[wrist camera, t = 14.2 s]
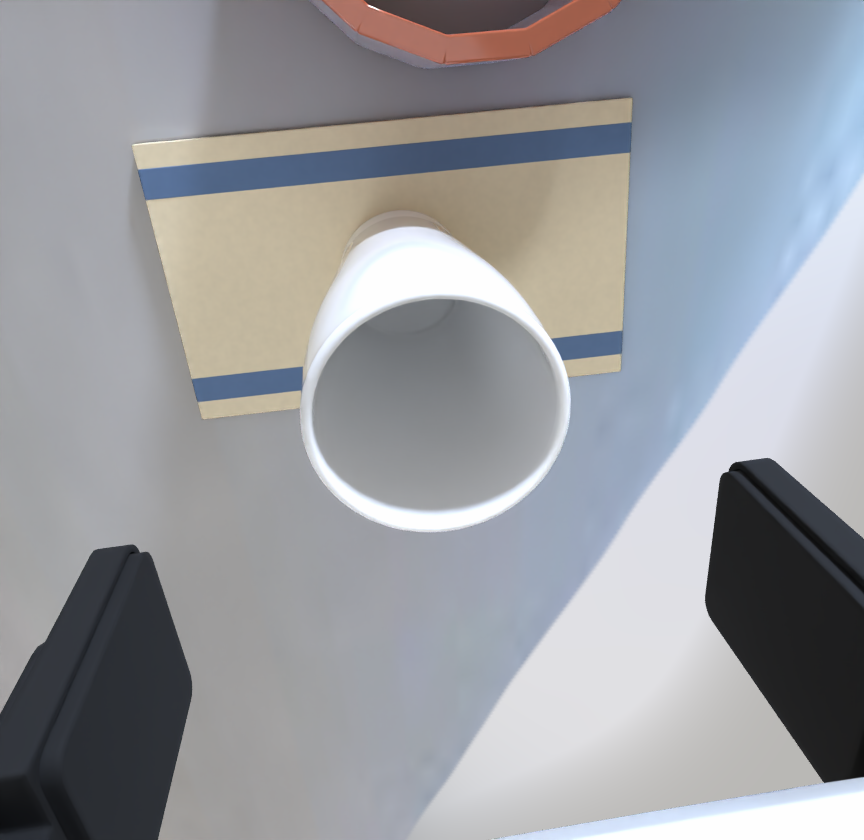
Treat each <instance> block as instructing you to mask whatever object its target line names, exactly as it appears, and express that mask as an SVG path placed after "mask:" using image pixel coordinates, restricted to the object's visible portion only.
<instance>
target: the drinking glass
mask: <svg viewBox="0 0 864 840" xmlns="http://www.w3.org/2000/svg"><path fill="white" fill-rule="evenodd" d="M570 409H571V397H570V387H569V381H568V376H567V373H566V369H565V366H564V363H563V361H562V359H561V356H560V354H559V352H558V350H557V348H556V347H555V345H554V343H553V342H552V340H551V339H550V337H549V335H548V333H547V331H546V330H545V328H544V326H543V325H542V323H541V321H540V320H539V318H538V317H537V315H536V314H535V312H534V311H533V310H532V308H531V307H530V305H529V304H528V303H527V301H526V300H525V299H524V297H523V296H522V295H521V294H520V293H519V292H518V290H517V289H516V288H515V287H514V286H513V285H512V284H511V283H510V281H509V280H508V279H507V278H505V277H504V276H503V275H502V274H501V273H500V272H499V271H498V270H497V269H496V268H495V267H493V266H492V265H491V264H489V263H488V262H487V261H486V260H484V259H483V258H482V257H480V256H479V255H477V254H476V253H475V252H473V251H472V250H471V249H469V248H468V247H466V246H465V245H464V244H462V243H461V242H460V241H458V240H457V239H456V238H455V237H454V236H453V235H452V234H451V232H450V231H449V230H448V229H447V228H446V227H445V226H444V225H443V224H441V223H440V222H439V221H437V220H436V219H434V218H432V217H430V216H428V215H426V214H423V213H420V212H416V211H411V210H394V211H388V212H385V213H381V214H379V215H376V216H374V217H372V218H371V219H369V220H367V221H366V222H365V223H363V224H362V225H361V226H360V227H359V228H358V229H357V230H356V231H355V232H354V233H353V234H352V236H351V237H350V239H349V240H348V242H347V244H346V246H345V248H344V251H343V253H342V257H341V261H340V266H339V268H338V270H337V272H336V274H335V276H334V278H333V280H332V282H331V284H330V286H329V288H328V290H327V292H326V294H325V296H324V298H323V300H322V302H321V305H320V307H319V309H318V312H317V314H316V317H315V319H314V322H313V325H312V328H311V332H310V335H309V339H308V343H307V347H306V353H305V358H304V364H303V372H302V384H301V400H300V427H301V434H302V439H303V443H304V447H305V450H306V452H307V455H308V458H309V460H310V462H311V464H312V466H313V468H314V470H315V472H316V473H317V475H318V476H319V478H320V479H321V481H322V482H323V483H324V485H325V486H326V487H327V488H328V489H329V491H330V492H331V493H332V494H333V495H334V496H335V497H336V498H337V499H339V500H340V501H341V502H342V503H343V504H345V505H346V506H347V507H349V508H350V509H352V510H353V511H355V512H356V513H358V514H360V515H361V516H363V517H365V518H367V519H369V520H372V521H374V522H376V523H379V524H382V525H385V526H388V527H391V528H395V529H400V530H405V531H412V532H445V531H453V530H458V529H463V528H467V527H471V526H474V525H477V524H480V523H483V522H485V521H487V520H490V519H492V518H494V517H496V516H498V515H500V514H502V513H504V512H505V511H507V510H509V509H510V508H512V507H513V506H515V505H516V504H517V503H519V502H520V501H521V500H522V499H524V498H525V497H526V496H527V495H528V494H529V493H530V492H532V491H533V490H534V489H535V488H536V487H537V485H538V484H539V483H540V482H541V481H542V480H543V478H544V477H545V476H546V474H547V473H548V472H549V470H550V469H551V467H552V466H553V464H554V462H555V461H556V459H557V457H558V455H559V453H560V451H561V448H562V446H563V443H564V440H565V437H566V434H567V430H568V426H569V419H570Z"/></svg>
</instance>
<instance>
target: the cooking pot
mask: <svg viewBox="0 0 864 840" xmlns="http://www.w3.org/2000/svg"><path fill="white" fill-rule="evenodd" d="M309 1H310V2H311V3H312V4H313V5H314V6H315V7H316V8H317V9H318V10H319V11H321V12H322V13H323V14H324V15H325V16H326V17H327V18H328V19H329V20H330V21H331V22H332V23H334V24H335V25H336V26H337V27H338V28H339V29H340V30H341V31H342V32H343V33H344V34H345V35H346V36H348V37H349V38H350V39H351V40H352V41H353V42H354V43H355V44H357V45H358V46H361V47H364V48H366V49H369V50H372V51H375V52H378V53H380V54H383V55H386V56H389V57H391V58H394V59H397V60H400V61H402V62H405V63H408V64H411V65H413V66H416V67H419V68H422V69H423V68H425V69H432V68H443V67H454V66H465V65H476V64H487V63H495V62H502V61H508V60H515V59H522V58H528V57H530V56H535V55H536V54H538V53H540V52H542V51H543V50H545V49H547V48H549V47H550V46H552V45H554V44H556V43H558V42H559V41H561V40H563V39H565V38H566V37H568V36H570V35H572V34H573V33H575V32H577V31H579V30H580V29H582V28H584V27H586V26H587V25H589V24H591V23H593V22H594V21H596V20H598V19H600V18H601V17H603V16H605V15H607V14H609V13H610V12H611V11H612V10H613V9H615V8H616V7H617V5H618V4H619V3H620V2H621V1H622V0H549V1H548V2H547V3H546V5H545V6H544V7H543V8H542V9H540V10H539V11H537V12H535V13H534V14H532V15H530V16H528V17H527V18H525V19H523V20H521V21H520V22H518V23H516V24H514V25H513V26H511V27H509V28H508V29H505V30H493V31H482V32H471V33H459V34H448V35H447V34H444V33H441V32H439V31H436V30H434V29H431V28H428V27H426V26H423V25H420V24H418V23H415V22H412V21H410V20H407V19H404V18H402V17H399V16H396V15H394V14H391V13H389V12H386V11H383V10H381V9H378V8H375V7H373V6H370V5H368V4H367V3H366V2H365V1H364V0H309Z"/></svg>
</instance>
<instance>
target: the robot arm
mask: <svg viewBox="0 0 864 840" xmlns="http://www.w3.org/2000/svg"><path fill="white" fill-rule="evenodd" d="M705 603H706V608H707V611H708V614H709V616H710V618H711V620H712V621H713V623H714V624H715V626H716V627H717V629H718V630H719V632H720V633H721V634H722V636H723V637H724V639H725V640H726V642H727V643H728V645H729V646H730V648H731V649H732V650H733V652H734V653H735V655H736V656H737V658H738V659H739V660H740V662H741V663H742V665H743V666H744V668H745V669H746V671H747V672H748V674H749V675H750V676H751V678H752V679H753V681H754V682H755V684H756V685H757V687H758V688H759V690H760V691H761V692H762V694H763V695H764V697H765V698H766V700H767V701H768V703H769V704H770V705H771V707H772V708H773V710H774V711H775V713H776V714H777V716H778V717H779V718H780V720H781V721H782V723H783V724H784V726H785V727H786V729H787V730H788V731H789V733H790V734H791V736H792V737H793V739H794V740H795V741H796V743H797V744H798V746H799V747H800V749H801V750H802V751H803V753H804V755H805V756H806V758H807V759H808V760H809V762H810V763H811V765H812V766H813V768H814V769H815V770H816V772H817V773H818V775H819V776H820V778H821V779H822V781H823V782H824V783H821V784H815V785H808V786H803V787H796V788H790V789H784V790H778V791H773V792H767V793H760V794H755V795H749V796H742V797H736V798H731V799H724V800H718V801H713V802H706V803H700V804H694V805H689V806H683V807H677V808H670V809H664V810H659V811H653V812H646V813H641V814H635V815H629V816H623V817H617V818H611V819H606V820H600V821H595V822H588V823H582V824H576V825H571V826H565V827H559V828H553V829H547V830H542V831H536V832H530V833H524V834H519V835H513V836H507V837H501V838H496V839H490V840H864V539H863V538H862V537H861V536H860V535H859V534H858V533H856V532H855V531H854V530H853V529H852V528H851V527H849V526H848V525H847V524H846V523H845V522H844V521H842V519H840V518H839V517H838V516H837V515H836V514H835V513H834V512H832V511H831V510H830V509H829V508H828V507H827V506H825V505H824V504H823V503H822V502H821V501H820V500H819V499H817V498H816V497H815V496H814V495H813V494H812V493H811V492H809V491H808V490H807V489H806V488H805V487H804V486H802V485H801V484H800V483H799V482H798V481H797V480H796V479H795V478H793V477H792V476H791V475H790V474H789V473H788V472H787V471H785V470H784V469H783V468H782V467H781V466H780V465H778V464H777V463H776V462H775V461H774V460H772V459H770V458H764V459H756V460H749V461H742V462H735V463H733V464H732V465H731V467H730V469H729V472H726V473H723V474H722V476H721V478H720V483H719V491H718V499H717V507H716V515H715V523H714V531H713V539H712V546H711V554H710V562H709V571H708V578H707V586H706V594H705ZM191 697H192V680H191V675H190V671H189V668H188V665H187V662H186V659H185V656H184V653H183V650H182V647H181V644H180V641H179V638H178V635H177V632H176V629H175V626H174V623H173V620H172V617H171V614H170V611H169V608H168V604H167V601H166V598H165V595H164V592H163V589H162V586H161V583H160V580H159V577H158V574H157V571H156V568H155V565H154V562H153V559H152V557H151V555H150V554H149V553H148V552H142V553H140V552H139V550H138V548H137V547H136V546H135V545H125V546H118V547H110V548H103V549H97V550H94V551H93V553H92V554H91V555H90V557H89V559H88V561H87V563H86V565H85V567H84V569H83V571H82V573H81V574H80V576H79V578H78V580H77V582H76V584H75V586H74V588H73V590H72V592H71V594H70V595H69V597H68V599H67V601H66V603H65V605H64V607H63V609H62V611H61V613H60V615H59V617H58V618H57V620H56V622H55V624H54V626H53V628H52V630H51V632H50V634H49V636H48V638H47V640H46V641H45V642H44V643H43V644H41V645H40V646H38V647H37V649H36V650H35V651H34V653H33V654H32V656H31V658H30V659H29V661H28V663H27V665H26V667H25V669H24V671H23V673H22V674H21V676H20V678H19V680H18V682H17V684H16V686H15V688H14V689H13V691H12V693H11V695H10V697H9V699H8V701H7V702H6V704H5V706H4V708H3V710H2V712H1V714H0V840H158V836H159V832H160V828H161V824H162V819H163V815H164V811H165V807H166V803H167V798H168V794H169V790H170V786H171V782H172V777H173V773H174V769H175V765H176V761H177V756H178V752H179V748H180V744H181V740H182V735H183V731H184V727H185V723H186V719H187V714H188V710H189V706H190V702H191Z"/></svg>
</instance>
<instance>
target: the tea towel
mask: <svg viewBox="0 0 864 840" xmlns="http://www.w3.org/2000/svg"><path fill="white" fill-rule="evenodd" d="M632 102H633V99H632V98H618V99H608V100H597V101H587V102H576V103H565V104H555V105H544V106H534V107H523V108H512V109H502V110H491V111H480V112H470V113H459V114H449V115H438V116H427V117H417V118H406V119H396V120H385V121H374V122H364V123H353V124H342V125H332V126H321V127H311V128H300V129H289V130H279V131H268V132H258V133H247V134H236V135H226V136H215V137H205V138H194V139H183V140H173V141H162V142H151V143H141V144H133V145H132V149H133V153H134V157H135V161H136V164H137V168H138V173H139V177H140V181H141V184H142V188H143V192H144V196H145V200H146V203H147V207H148V211H149V215H150V219H151V223H152V227H153V230H154V234H155V238H156V242H157V246H158V250H159V254H160V258H161V262H162V265H163V269H164V273H165V277H166V281H167V285H168V289H169V293H170V296H171V300H172V304H173V308H174V312H175V316H176V320H177V324H178V328H179V331H180V335H181V339H182V343H183V347H184V351H185V355H186V359H187V363H188V366H189V370H190V374H191V378H192V382H193V386H194V390H195V394H196V398H197V401H198V405H199V409H200V413H201V417H202V419H211V418H220V417H229V416H237V415H246V414H255V413H263V412H272V411H281V410H289V409H298V408H300V400H301V384H302V372H303V364H304V358H305V353H306V347H307V343H308V339H309V335H310V332H311V328H312V325H313V322H314V319H315V317H316V314H317V312H318V309H319V307H320V305H321V302H322V300H323V298H324V296H325V294H326V292H327V290H328V288H329V286H330V284H331V282H332V280H333V278H334V276H335V274H336V272H337V270H338V268H339V266H340V261H341V257H342V253H343V251H344V248H345V246H346V244H347V242H348V240H349V239H350V237H351V236H352V234H353V233H354V232H355V231H356V230H357V229H358V228H359V227H360V226H361V225H362V224H363V223H365V222H366V221H367V220H369V219H371V218H372V217H374V216H376V215H379V214H381V213H385V212H388V211H394V210H411V211H416V212H420V213H423V214H426V215H428V216H430V217H432V218H434V219H436V220H437V221H439V222H440V223H441V224H443V225H444V226H445V227H446V228H447V229H448V230H449V231H450V232H451V234H452V235H453V236H454V237H455V238H456V239H457V240H458V241H460V242H461V243H462V244H464V245H465V246H466V247H468V248H469V249H471V250H472V251H473V252H475V253H476V254H477V255H479V256H480V257H482V258H483V259H484V260H486V261H487V262H488V263H489V264H491V265H492V266H493V267H495V268H496V269H497V270H498V271H499V272H500V273H501V274H502V275H503V276H504V277H505V278H507V279H508V280H509V281H510V283H511V284H512V285H513V286H514V287H515V288H516V289H517V290H518V292H519V293H520V294H521V295H522V296H523V297H524V299H525V300H526V301H527V303H528V304H529V305H530V307H531V308H532V310H533V311H534V312H535V314H536V315H537V317H538V318H539V320H540V321H541V323H542V325H543V326H544V328H545V330H546V331H547V333H548V335H549V337H550V339H551V340H552V342H553V343H554V345H555V347H556V348H557V350H558V352H559V354H560V356H561V359H562V361H563V363H564V366H565V369H566V373H567V376H568V377H575V376H584V375H592V374H601V373H610V372H618V371H621V353H622V332H623V331H622V329H623V307H624V284H625V261H626V238H627V215H628V193H629V170H630V151H631V128H632Z"/></svg>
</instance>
